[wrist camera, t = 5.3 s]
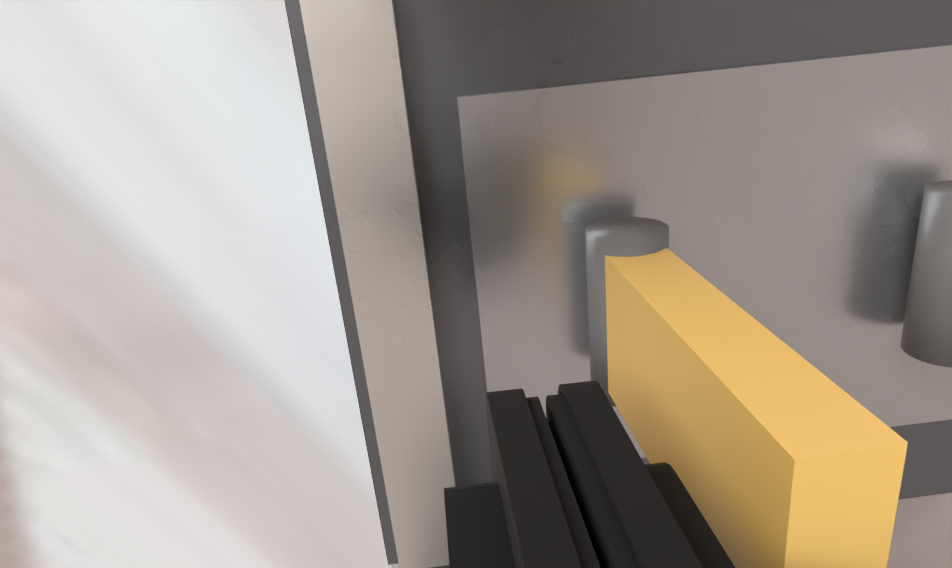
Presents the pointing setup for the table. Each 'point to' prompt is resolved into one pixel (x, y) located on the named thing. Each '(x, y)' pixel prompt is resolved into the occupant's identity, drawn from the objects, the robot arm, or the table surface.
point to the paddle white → (931, 281)
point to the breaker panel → (614, 201)
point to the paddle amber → (736, 411)
